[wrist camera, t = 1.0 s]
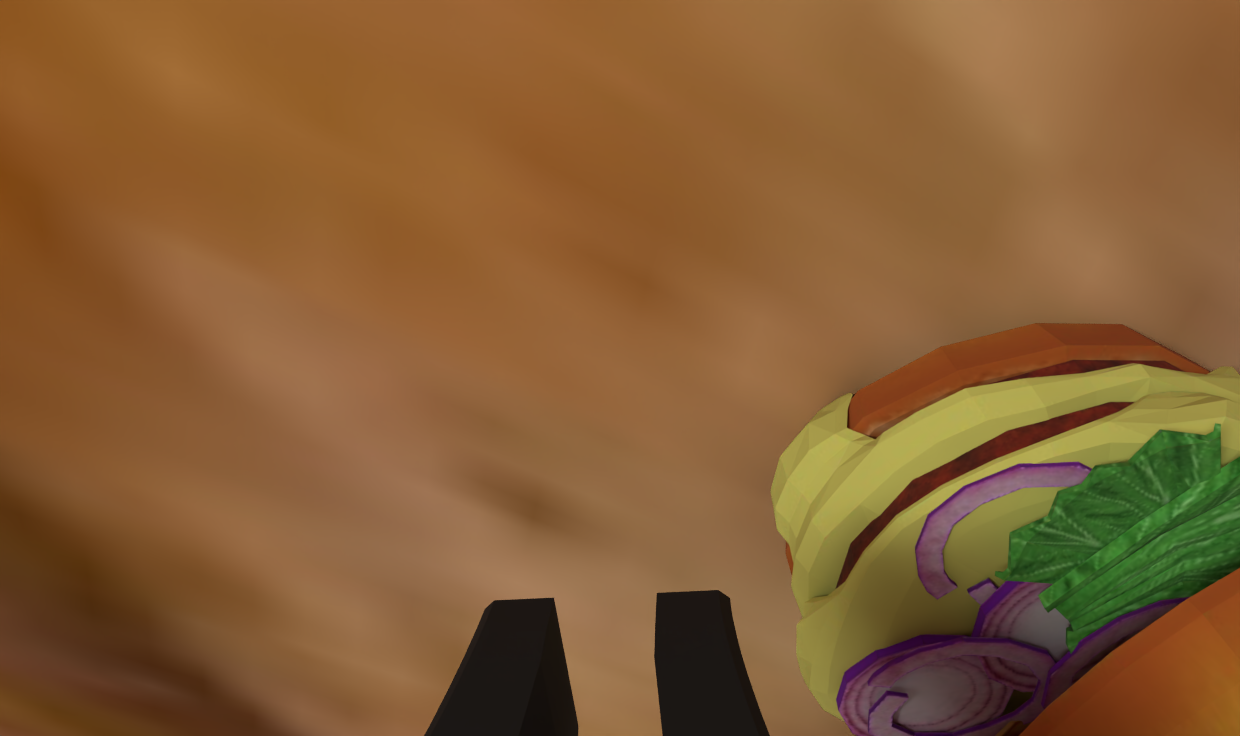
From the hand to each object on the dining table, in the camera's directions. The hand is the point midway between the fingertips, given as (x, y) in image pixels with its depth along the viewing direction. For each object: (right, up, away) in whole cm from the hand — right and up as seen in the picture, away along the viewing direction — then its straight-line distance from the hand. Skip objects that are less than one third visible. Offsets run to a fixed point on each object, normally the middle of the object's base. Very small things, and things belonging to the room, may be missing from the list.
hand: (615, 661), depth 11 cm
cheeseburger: (+9, +1, +12) cm, 15 cm away
